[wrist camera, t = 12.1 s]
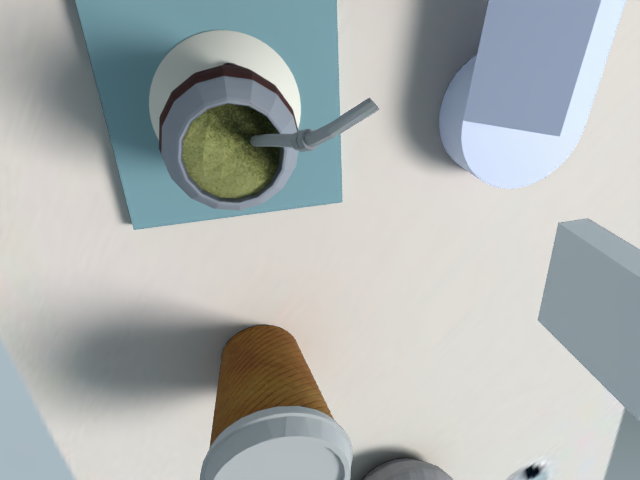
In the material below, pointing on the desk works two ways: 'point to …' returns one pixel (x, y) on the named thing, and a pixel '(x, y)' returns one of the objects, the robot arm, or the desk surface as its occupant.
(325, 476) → the disposable coffee cup
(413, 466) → the coffee pot
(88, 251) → the desk surface
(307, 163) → the mat
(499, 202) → the desk surface
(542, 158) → the wedge on round base
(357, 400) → the desk surface
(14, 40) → the desk surface
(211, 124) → the mate gourd
